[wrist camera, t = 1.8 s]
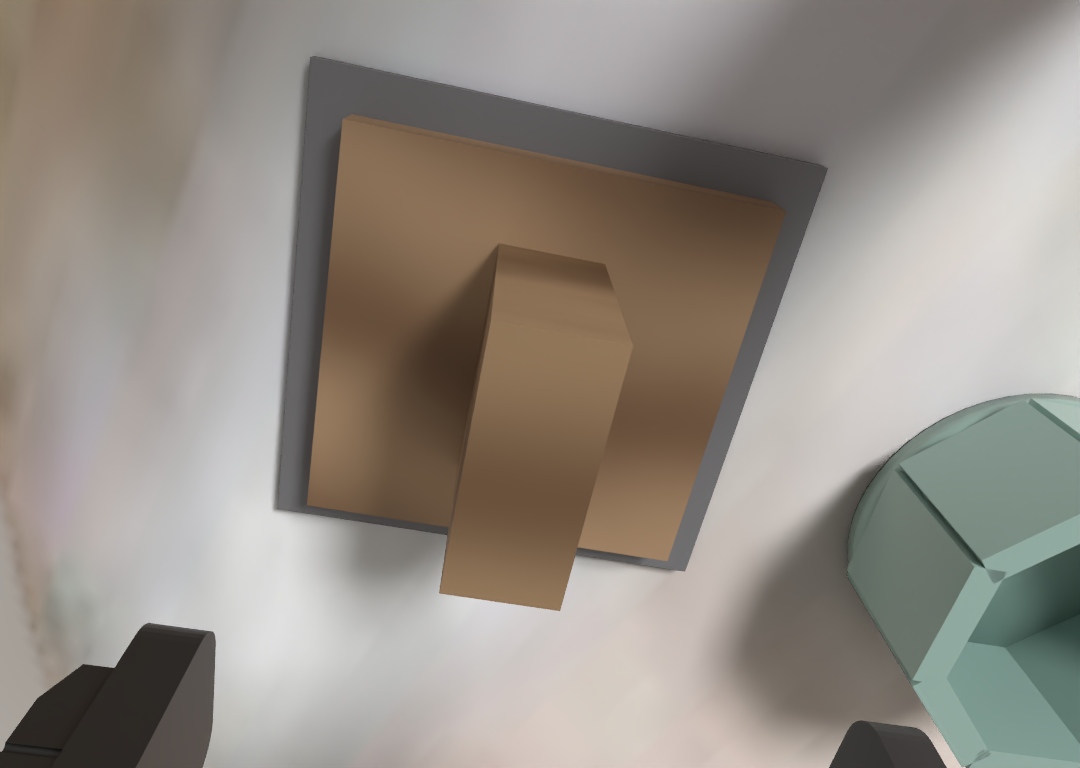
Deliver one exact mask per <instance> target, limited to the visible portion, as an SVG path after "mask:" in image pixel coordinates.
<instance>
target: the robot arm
mask: <svg viewBox="0 0 1080 768" xmlns="http://www.w3.org/2000/svg"><path fill="white" fill-rule="evenodd" d="M215 647H216V640H215V635H214V633H213V632H211V631H204V630H196V629H189V628H181V627H174V626H166V625H159V624H151V623H147V624H145V625H144V626H142V628H141V629H140V630H139V631H138V632H137V634H136V635H135V637H134V638H133V640H132V641H131V643H130V645H129V646H128V648H127V649H126V651H125V652H124V654H123V656H122V657H121V659H120V660H119V662H118V663H117V665H116V667H115V668H109V667H101V666H93V665H85V664H83V665H82V666H80V667H79V668H78V669H76V670H75V671H74V672H72V673H71V674H70V675H68V676H67V677H66V678H64V679H63V680H62V681H60V682H59V683H57V684H56V685H55V686H53V687H52V688H51V689H49V690H48V691H47V692H45V693H44V694H43V695H41V696H40V697H39V698H37V700H36V701H35V702H34V704H33V705H32V707H31V708H30V709H29V711H28V712H27V713H26V715H25V716H24V718H23V719H22V720H21V722H20V723H19V725H18V726H17V727H16V729H15V730H14V731H13V733H12V734H11V736H10V737H9V738H8V740H7V741H6V743H5V747H4V749H3V751H2V752H0V768H202V767H203V764H204V761H205V758H206V754H207V750H208V746H209V742H210V737H211V731H212V723H213V699H214V673H215ZM829 768H947V767H946V766H945V764H944V762H943V761H942V759H941V757H940V755H939V754H938V752H937V750H936V749H935V747H934V745H933V743H932V742H931V740H930V739H929V737H928V736H927V735H926V734H925V733H924V732H922V731H921V730H919V729H917V728H913V727H905V726H898V725H890V724H883V723H875V722H868V721H857V722H855V723H853V724H852V725H851V727H850V728H849V730H848V731H847V733H846V735H845V737H844V739H843V741H842V743H841V745H840V747H839V749H838V751H837V753H836V755H835V757H834V759H833V761H832V763H831V765H830V767H829Z"/></svg>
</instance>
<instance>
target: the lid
mask: <svg viewBox="0 0 1080 768" xmlns="http://www.w3.org/2000/svg"><path fill="white" fill-rule="evenodd" d="M785 214H786V211H785V210H784V209H782V208H781V207H780V206H778V205H777V204H775V203H774V202H771V201H766V200H761V199H757V198H752V197H747V196H742V195H737V194H733V193H728V192H723V191H718V190H714V189H709V188H704V187H699V186H694V185H690V184H685V183H680V182H675V181H670V180H666V179H661V178H656V177H651V176H646V175H642V174H637V173H632V172H627V171H623V170H618V169H613V168H608V167H603V166H599V165H594V164H589V163H584V162H579V161H575V160H570V159H565V158H560V157H555V156H551V155H546V154H541V153H536V152H532V151H527V150H522V149H517V148H512V147H508V146H503V145H498V144H493V143H488V142H484V141H479V140H474V139H469V138H465V137H460V136H455V135H450V134H445V133H441V132H436V131H431V130H426V129H421V128H417V127H412V126H407V125H402V124H397V123H393V122H388V121H383V120H378V119H374V118H369V117H364V116H359V115H354V114H351V115H349V116H347V117H345V118H344V119H343V120H342V131H341V142H340V153H339V164H338V174H337V185H336V196H335V207H334V218H333V229H332V239H331V250H330V261H329V272H328V283H327V294H326V305H325V315H324V326H323V337H322V348H321V359H320V370H319V380H318V391H317V402H316V413H315V424H314V435H313V445H312V456H311V467H310V478H309V489H308V500H307V505H308V506H315V507H321V508H328V509H334V510H341V511H347V512H354V513H360V514H366V515H373V516H379V517H386V518H392V519H399V520H405V521H412V522H418V523H424V524H431V525H437V526H444V527H449V530H448V537H447V543H446V550H445V557H444V564H443V571H442V578H441V585H440V592H439V593H441V594H447V595H454V596H461V597H468V598H475V599H482V600H489V601H495V602H502V603H509V604H516V605H523V606H530V607H536V608H543V609H550V610H557V611H560V609H561V605H562V602H563V598H564V594H565V591H566V587H567V584H568V580H569V576H570V573H571V569H572V565H573V562H574V558H575V555H576V551H577V547H579V548H586V549H592V550H598V551H605V552H611V553H618V554H624V555H631V556H637V557H644V558H650V559H656V560H663V561H668V558H669V555H670V552H671V550H672V547H673V544H674V541H675V538H676V535H677V532H678V529H679V526H680V523H681V520H682V517H683V514H684V511H685V508H686V505H687V502H688V499H689V497H690V494H691V491H692V488H693V485H694V482H695V479H696V476H697V473H698V470H699V467H700V464H701V461H702V458H703V455H704V452H705V449H706V447H707V444H708V441H709V438H710V435H711V432H712V429H713V426H714V423H715V420H716V417H717V414H718V411H719V408H720V405H721V402H722V399H723V396H724V394H725V391H726V388H727V385H728V382H729V379H730V376H731V373H732V370H733V367H734V364H735V361H736V358H737V355H738V352H739V349H740V346H741V344H742V341H743V338H744V335H745V332H746V329H747V326H748V323H749V320H750V317H751V314H752V311H753V308H754V305H755V302H756V299H757V296H758V293H759V291H760V288H761V285H762V282H763V279H764V276H765V273H766V270H767V267H768V264H769V261H770V258H771V255H772V252H773V249H774V246H775V243H776V240H777V238H778V235H779V232H780V229H781V226H782V223H783V220H784V217H785Z"/></svg>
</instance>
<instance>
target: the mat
mask: <svg viewBox="0 0 1080 768" xmlns="http://www.w3.org/2000/svg"><path fill="white" fill-rule="evenodd" d="M351 114H354V115H359V116H364V117H369V118H374V119H378V120H383V121H388V122H393V123H397V124H402V125H407V126H412V127H417V128H421V129H426V130H431V131H436V132H441V133H445V134H450V135H455V136H460V137H465V138H469V139H474V140H479V141H484V142H488V143H493V144H498V145H503V146H508V147H512V148H517V149H522V150H527V151H532V152H536V153H541V154H546V155H551V156H555V157H560V158H565V159H570V160H575V161H579V162H584V163H589V164H594V165H599V166H603V167H608V168H613V169H618V170H623V171H627V172H632V173H637V174H642V175H646V176H651V177H656V178H661V179H666V180H670V181H675V182H680V183H685V184H690V185H694V186H699V187H704V188H709V189H714V190H718V191H723V192H728V193H733V194H737V195H742V196H747V197H752V198H757V199H761V200H766V201H771V202H774V203H775V204H777V205H778V206H780V207H781V208H782V209H784V210H785V211H786V214H785V217H784V220H783V223H782V226H781V229H780V232H779V235H778V238H777V240H776V243H775V246H774V249H773V252H772V255H771V258H770V261H769V264H768V267H767V270H766V273H765V276H764V279H763V282H762V285H761V288H760V291H759V293H758V296H757V299H756V302H755V305H754V308H753V311H752V314H751V317H750V320H749V323H748V326H747V329H746V332H745V335H744V338H743V341H742V344H741V346H740V349H739V352H738V355H737V358H736V361H735V364H734V367H733V370H732V373H731V376H730V379H729V382H728V385H727V388H726V391H725V394H724V396H723V399H722V402H721V405H720V408H719V411H718V414H717V417H716V420H715V423H714V426H713V429H712V432H711V435H710V438H709V441H708V444H707V447H706V449H705V452H704V455H703V458H702V461H701V464H700V467H699V470H698V473H697V476H696V479H695V482H694V485H693V488H692V491H691V494H690V497H689V499H688V502H687V505H686V508H685V511H684V514H683V517H682V520H681V523H680V526H679V529H678V532H677V535H676V538H675V541H674V544H673V547H672V550H671V552H670V555H669V558H668V561H663V560H656V559H650V558H644V557H637V556H631V555H624V554H618V553H611V552H605V551H598V550H592V549H586V548H579V547H577V551H576V555H581V556H587V557H594V558H600V559H607V560H613V561H620V562H626V563H633V564H639V565H646V566H652V567H659V568H665V569H672V570H678V571H685V570H686V567H687V564H688V562H689V559H690V556H691V553H692V550H693V547H694V545H695V542H696V539H697V536H698V533H699V531H700V528H701V525H702V522H703V519H704V516H705V514H706V511H707V508H708V505H709V502H710V499H711V497H712V494H713V491H714V488H715V485H716V483H717V480H718V477H719V474H720V471H721V468H722V466H723V463H724V460H725V457H726V454H727V451H728V449H729V446H730V443H731V440H732V437H733V434H734V432H735V429H736V426H737V423H738V420H739V418H740V415H741V412H742V409H743V406H744V403H745V401H746V398H747V395H748V392H749V389H750V386H751V384H752V381H753V378H754V375H755V372H756V370H757V367H758V364H759V361H760V358H761V355H762V353H763V350H764V347H765V344H766V341H767V338H768V336H769V333H770V330H771V327H772V324H773V322H774V319H775V316H776V313H777V310H778V307H779V305H780V302H781V299H782V296H783V293H784V290H785V288H786V285H787V282H788V279H789V276H790V274H791V271H792V268H793V265H794V262H795V259H796V257H797V254H798V251H799V248H800V245H801V242H802V240H803V237H804V234H805V231H806V228H807V225H808V223H809V220H810V217H811V214H812V211H813V209H814V206H815V203H816V200H817V197H818V194H819V192H820V189H821V186H822V183H823V180H824V177H825V175H826V172H827V169H828V168H826V167H824V166H822V165H817V164H812V163H808V162H803V161H798V160H794V159H789V158H784V157H780V156H775V155H771V154H766V153H761V152H757V151H752V150H747V149H743V148H738V147H733V146H729V145H724V144H720V143H715V142H710V141H706V140H701V139H696V138H692V137H687V136H682V135H678V134H673V133H669V132H664V131H659V130H655V129H650V128H645V127H641V126H636V125H631V124H627V123H622V122H617V121H613V120H608V119H604V118H599V117H594V116H590V115H585V114H580V113H576V112H571V111H566V110H562V109H557V108H553V107H548V106H543V105H539V104H534V103H529V102H525V101H520V100H515V99H511V98H506V97H501V96H497V95H492V94H488V93H483V92H478V91H474V90H469V89H464V88H460V87H455V86H450V85H446V84H441V83H437V82H432V81H427V80H423V79H418V78H413V77H409V76H404V75H399V74H395V73H390V72H385V71H381V70H376V69H372V68H367V67H362V66H358V65H353V64H348V63H344V62H339V61H334V60H330V59H325V58H321V57H316V56H314V57H311V58H310V71H309V85H308V99H307V112H306V126H305V140H304V153H303V167H302V181H301V194H300V208H299V222H298V235H297V249H296V263H295V276H294V290H293V304H292V317H291V331H290V345H289V358H288V372H287V386H286V399H285V413H284V427H283V440H282V454H281V468H280V481H279V495H278V509H282V510H289V511H295V512H302V513H308V514H315V515H321V516H328V517H334V518H341V519H347V520H354V521H360V522H367V523H373V524H380V525H386V526H393V527H399V528H406V529H412V530H418V531H425V532H431V533H438V534H444V535H448V530H449V527H444V526H437V525H431V524H424V523H418V522H412V521H405V520H399V519H392V518H386V517H379V516H373V515H366V514H360V513H354V512H347V511H341V510H334V509H328V508H321V507H315V506H308V505H307V500H308V489H309V478H310V467H311V456H312V445H313V435H314V424H315V413H316V402H317V391H318V380H319V370H320V359H321V348H322V337H323V326H324V315H325V305H326V294H327V283H328V272H329V261H330V250H331V239H332V229H333V218H334V207H335V196H336V185H337V174H338V164H339V153H340V142H341V131H342V120H343V119H344V118H345V117H347V116H349V115H351Z"/></svg>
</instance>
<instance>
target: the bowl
mask: <svg viewBox="0 0 1080 768" xmlns="http://www.w3.org/2000/svg"><path fill="white" fill-rule="evenodd" d="M847 554H848V563H849V565H848V568H847V571H848V573H849V574H848V575H847V576H848V578H849V580H850V582H851V583H852V585H853V587H854V588H855V590H856V592H857V594H858V595H859V597H860V599H861V600H862V602H863V604H864V605H865V607H866V609H867V611H868V612H869V614H870V616H871V617H872V619H873V621H874V622H875V624H876V626H877V628H878V629H879V631H880V633H881V634H882V636H883V638H884V639H885V641H886V643H887V645H888V646H889V648H890V650H891V651H892V653H893V655H894V656H895V658H896V660H897V662H898V663H899V665H900V667H901V668H902V670H903V672H904V673H905V675H906V677H907V679H908V680H909V682H910V684H911V685H912V687H913V689H914V690H915V692H916V694H917V695H918V697H919V698H920V700H921V702H922V703H923V705H924V707H925V708H926V710H927V711H928V713H929V715H930V716H931V718H932V720H933V721H934V723H935V724H936V726H937V728H938V729H939V731H940V733H941V734H942V736H943V737H944V739H945V741H946V742H947V744H948V746H949V747H950V749H951V750H952V752H953V754H954V755H955V757H956V759H957V760H958V762H959V763H960V765H961V767H966V768H1080V398H1077V397H1073V396H1067V395H1059V394H1024V395H1015V396H1008V397H1004V398H999V399H995V400H991V401H986V402H984V403H981V404H978V405H975V406H972V407H969V408H966V409H964V410H962V411H959V412H957V413H955V414H953V415H951V416H949V417H946V418H944V419H943V420H941V421H939V422H938V423H936V424H934V425H932V426H931V427H929V428H927V429H926V430H924V431H923V432H921V433H920V434H919V435H917V436H916V437H915V438H913V439H912V440H911V441H909V442H908V443H907V444H906V445H904V446H903V447H902V448H901V449H900V450H899V451H898V452H897V453H896V454H895V455H893V456H892V457H891V458H890V460H889V461H888V462H887V463H886V464H885V465H884V466H883V467H882V469H881V470H880V471H879V472H878V473H877V475H876V476H875V477H874V479H873V480H872V482H871V483H870V485H869V486H868V487H867V489H866V491H865V493H864V495H863V496H862V498H861V500H860V502H859V504H858V506H857V509H856V512H855V514H854V517H853V520H852V523H851V528H850V532H849V537H848V552H847Z"/></svg>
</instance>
